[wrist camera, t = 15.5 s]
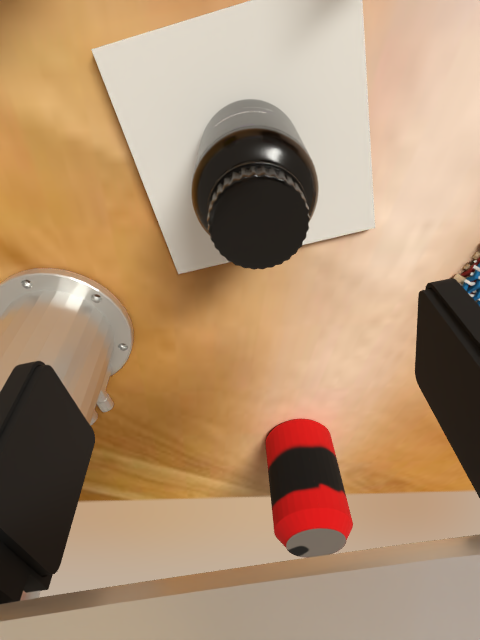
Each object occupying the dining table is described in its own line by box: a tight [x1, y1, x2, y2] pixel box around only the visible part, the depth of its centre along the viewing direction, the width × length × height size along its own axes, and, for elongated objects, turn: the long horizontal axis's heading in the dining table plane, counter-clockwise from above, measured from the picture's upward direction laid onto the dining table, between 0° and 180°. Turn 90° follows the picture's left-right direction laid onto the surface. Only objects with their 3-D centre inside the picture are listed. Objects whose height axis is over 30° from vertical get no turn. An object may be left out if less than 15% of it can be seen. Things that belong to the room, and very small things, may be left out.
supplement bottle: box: [191, 99, 319, 269], centre depth 24 cm, size 7×7×12 cm
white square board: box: [91, 0, 375, 274], centre depth 29 cm, size 16×16×1 cm
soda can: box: [266, 419, 353, 558], centre depth 44 cm, size 8×8×12 cm
